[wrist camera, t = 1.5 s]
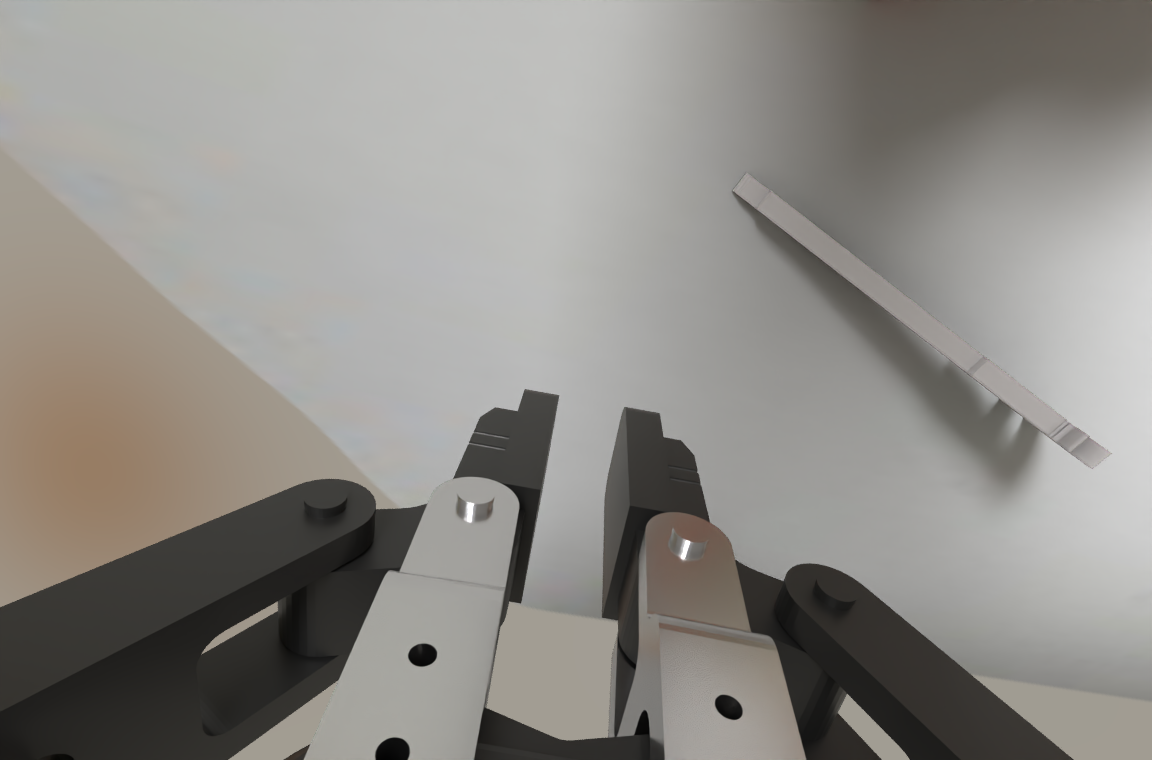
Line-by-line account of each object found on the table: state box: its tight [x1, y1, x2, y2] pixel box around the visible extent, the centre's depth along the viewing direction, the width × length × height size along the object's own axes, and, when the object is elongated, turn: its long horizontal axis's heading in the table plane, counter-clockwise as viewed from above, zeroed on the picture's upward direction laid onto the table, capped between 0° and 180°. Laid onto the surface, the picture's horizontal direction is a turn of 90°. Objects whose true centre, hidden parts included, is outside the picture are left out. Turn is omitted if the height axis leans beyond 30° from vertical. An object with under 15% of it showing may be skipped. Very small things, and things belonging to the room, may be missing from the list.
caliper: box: [732, 173, 1112, 469], centre depth 28 cm, size 20×1×6 cm, turn 55°
